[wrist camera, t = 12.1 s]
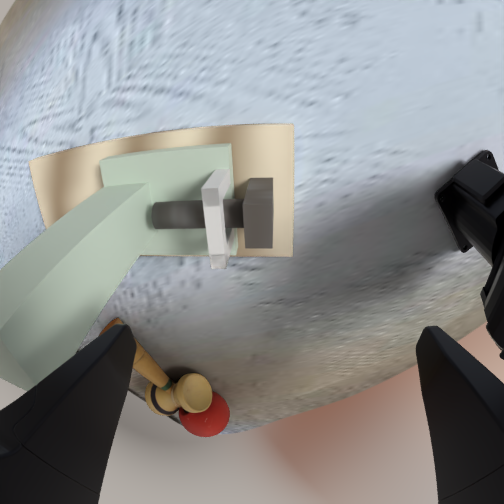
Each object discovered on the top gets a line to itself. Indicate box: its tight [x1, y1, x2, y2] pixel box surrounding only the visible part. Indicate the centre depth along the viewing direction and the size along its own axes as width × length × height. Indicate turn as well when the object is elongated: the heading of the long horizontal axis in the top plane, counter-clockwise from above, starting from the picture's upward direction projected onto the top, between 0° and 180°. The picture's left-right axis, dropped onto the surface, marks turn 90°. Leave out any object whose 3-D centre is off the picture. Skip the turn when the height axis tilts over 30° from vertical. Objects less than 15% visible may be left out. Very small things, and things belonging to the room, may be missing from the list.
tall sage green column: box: [0, 143, 238, 391], centre depth 12 cm, size 8×7×14 cm
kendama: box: [99, 318, 230, 437], centre depth 28 cm, size 8×6×18 cm
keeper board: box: [29, 124, 294, 257], centre depth 17 cm, size 21×9×6 cm, turn 92°
